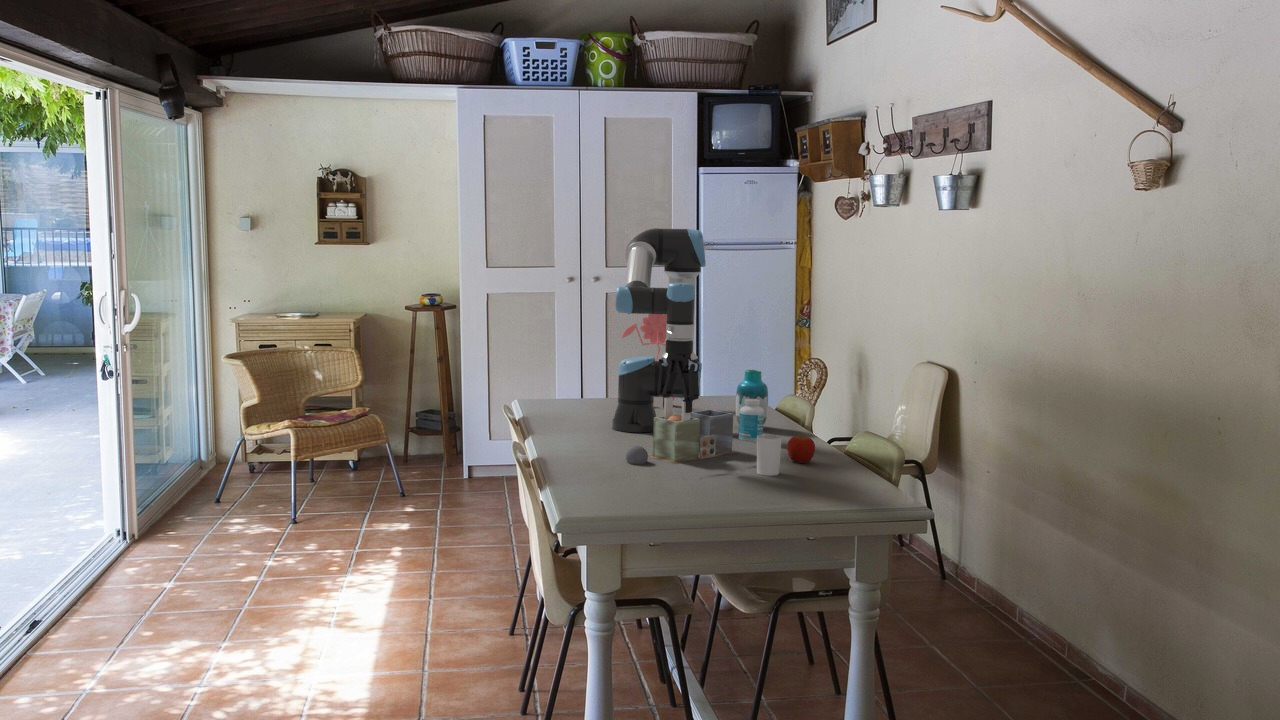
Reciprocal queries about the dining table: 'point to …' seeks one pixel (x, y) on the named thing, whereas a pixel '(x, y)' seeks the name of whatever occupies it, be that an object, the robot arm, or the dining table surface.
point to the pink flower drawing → (651, 330)
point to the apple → (801, 449)
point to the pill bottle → (751, 420)
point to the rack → (693, 437)
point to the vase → (752, 392)
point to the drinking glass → (768, 454)
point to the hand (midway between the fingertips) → (676, 422)
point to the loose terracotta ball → (675, 418)
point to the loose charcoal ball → (636, 455)
